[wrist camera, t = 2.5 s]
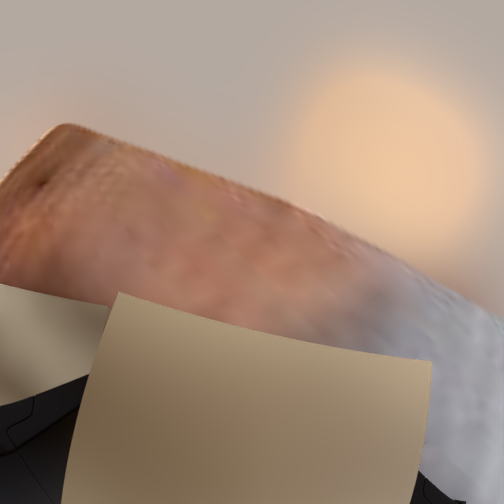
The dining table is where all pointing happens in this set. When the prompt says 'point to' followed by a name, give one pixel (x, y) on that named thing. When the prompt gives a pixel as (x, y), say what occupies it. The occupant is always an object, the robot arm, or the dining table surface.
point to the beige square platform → (45, 341)
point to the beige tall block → (241, 417)
